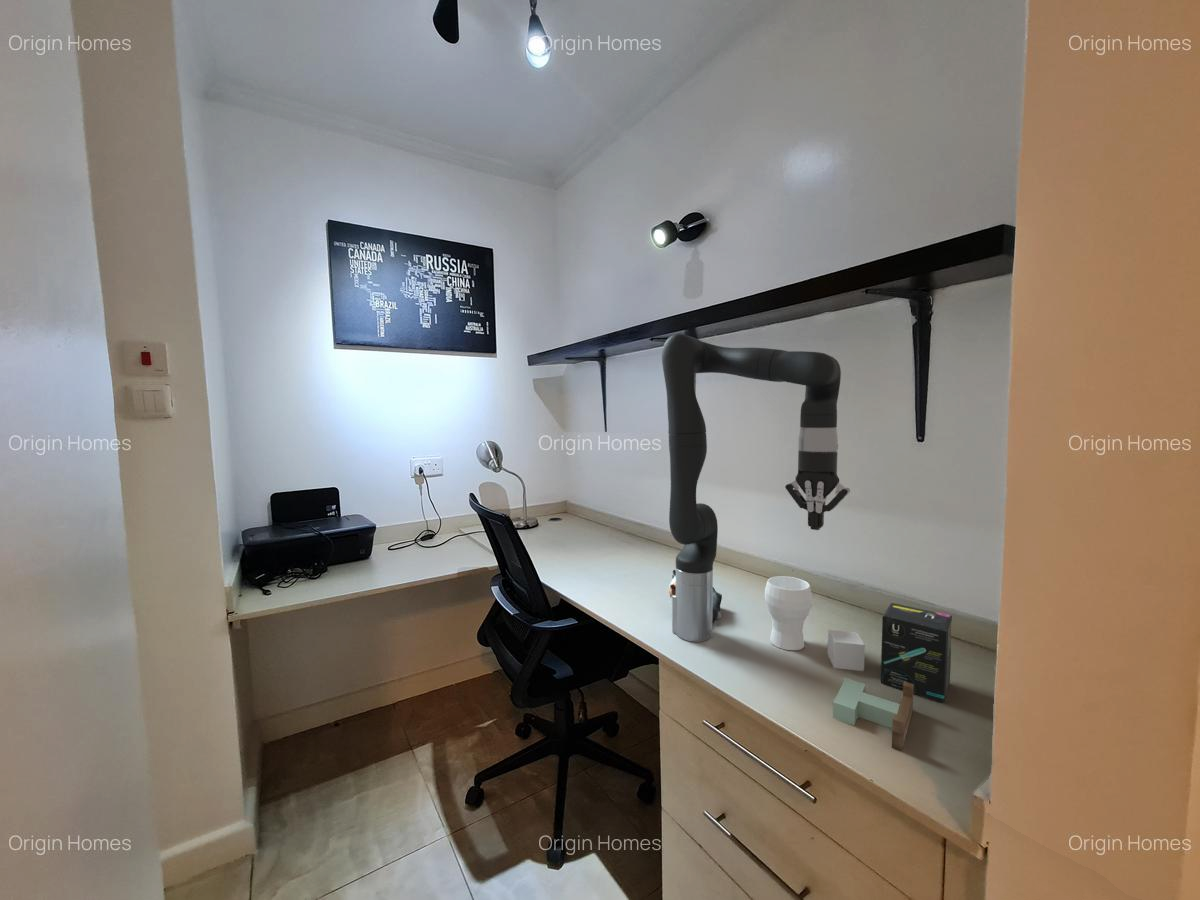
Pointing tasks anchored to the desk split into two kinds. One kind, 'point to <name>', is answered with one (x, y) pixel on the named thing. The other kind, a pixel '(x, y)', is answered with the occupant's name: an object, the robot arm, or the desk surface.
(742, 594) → the desk surface
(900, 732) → the rail
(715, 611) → the lucky cat figurine
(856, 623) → the desk surface
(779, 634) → the cup
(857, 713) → the t block
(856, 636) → the white cube piece
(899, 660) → the tampon box
